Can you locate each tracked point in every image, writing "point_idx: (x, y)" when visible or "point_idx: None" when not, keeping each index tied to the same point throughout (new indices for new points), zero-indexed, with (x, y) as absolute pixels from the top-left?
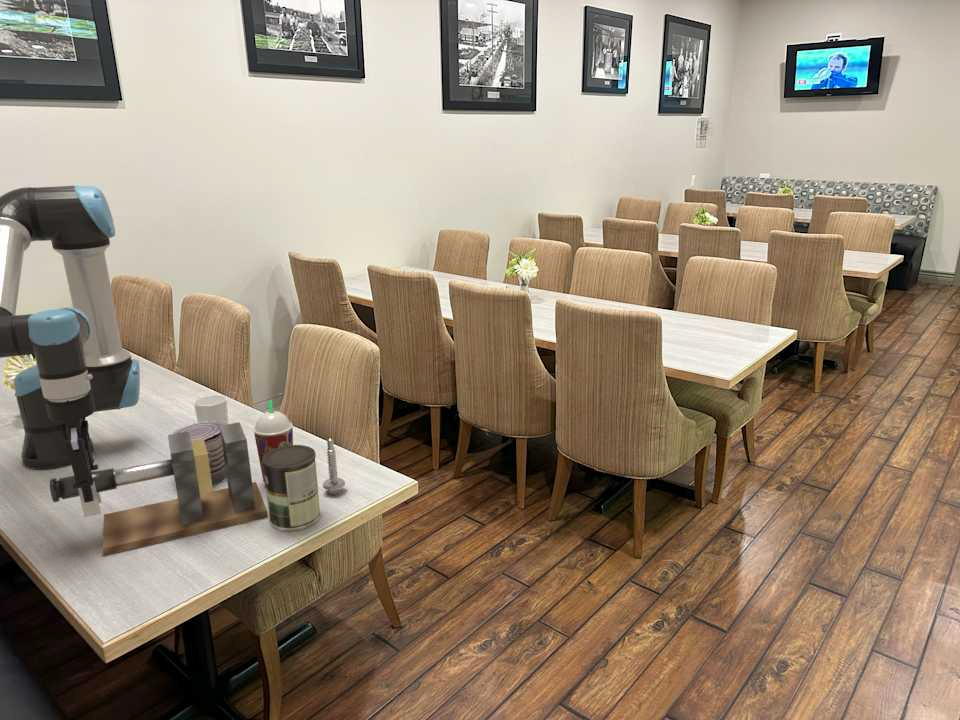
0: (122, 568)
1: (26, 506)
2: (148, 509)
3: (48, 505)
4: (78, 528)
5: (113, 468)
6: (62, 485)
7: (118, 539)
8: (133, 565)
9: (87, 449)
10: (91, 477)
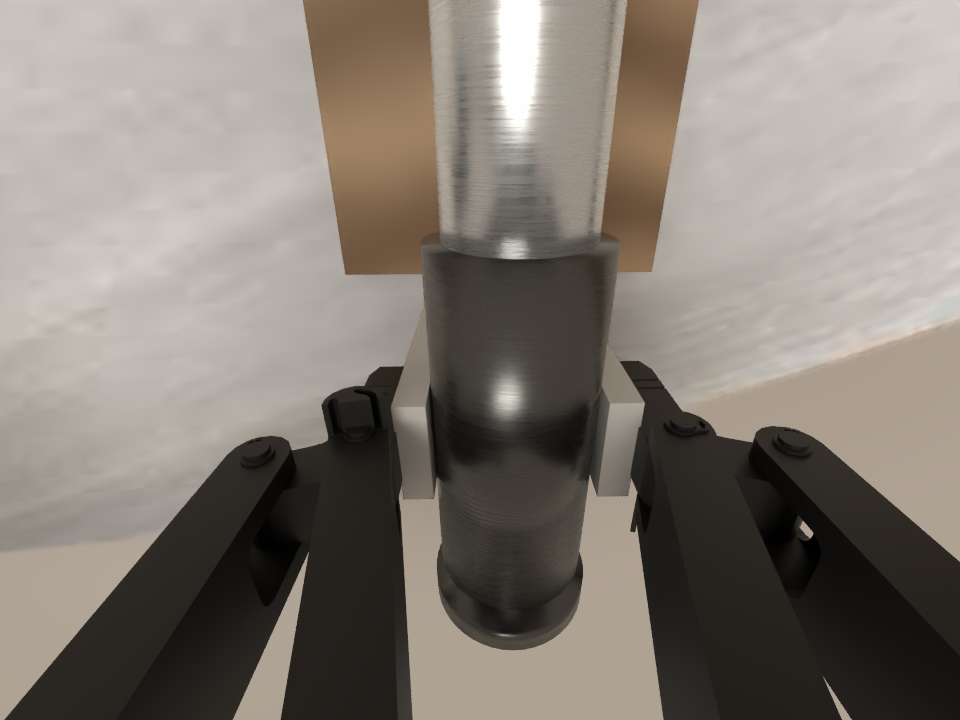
0: (785, 192)
1: (162, 499)
2: (367, 58)
3: (167, 448)
4: (378, 353)
5: (464, 260)
6: (571, 572)
7: (612, 209)
8: (795, 147)
9: (396, 674)
10: (723, 456)
